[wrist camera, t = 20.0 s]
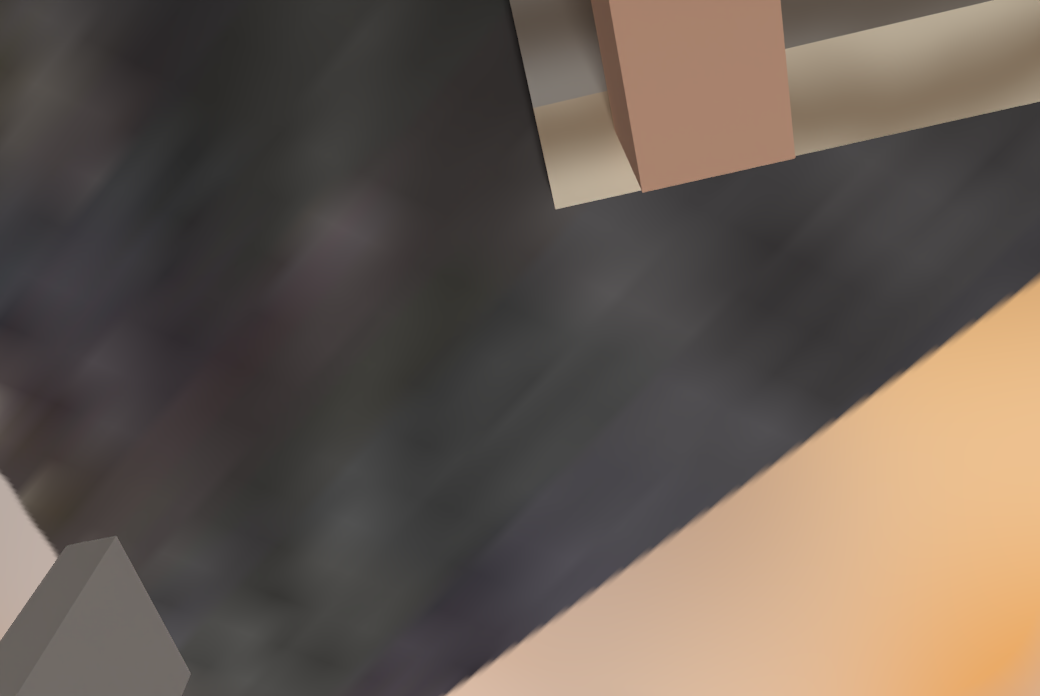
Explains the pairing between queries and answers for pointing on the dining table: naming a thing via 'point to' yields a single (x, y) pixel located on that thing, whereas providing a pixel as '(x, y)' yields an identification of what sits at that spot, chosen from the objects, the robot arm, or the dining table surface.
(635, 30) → the block
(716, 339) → the dining table surface
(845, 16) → the board
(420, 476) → the dining table surface
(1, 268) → the dining table surface
